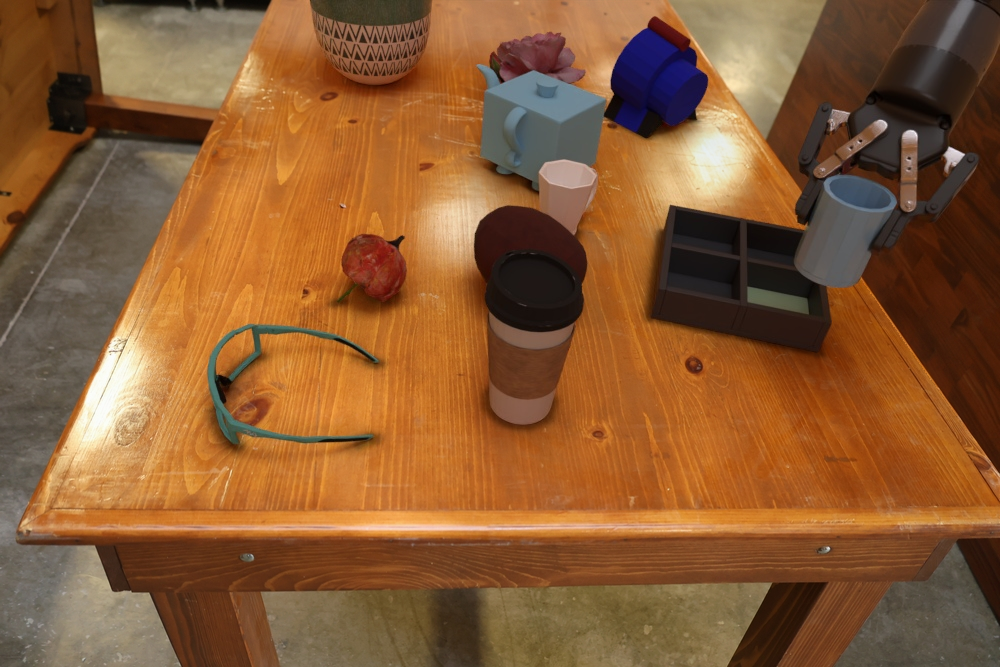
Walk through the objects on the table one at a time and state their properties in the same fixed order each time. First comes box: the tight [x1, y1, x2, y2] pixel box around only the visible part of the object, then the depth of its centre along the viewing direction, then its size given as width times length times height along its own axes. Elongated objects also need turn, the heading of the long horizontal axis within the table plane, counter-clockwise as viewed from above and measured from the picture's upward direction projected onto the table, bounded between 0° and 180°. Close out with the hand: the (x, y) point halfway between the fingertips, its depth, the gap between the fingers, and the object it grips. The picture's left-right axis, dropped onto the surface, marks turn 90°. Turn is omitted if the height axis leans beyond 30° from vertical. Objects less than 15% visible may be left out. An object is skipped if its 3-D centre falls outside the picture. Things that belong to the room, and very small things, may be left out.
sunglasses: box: [206, 323, 380, 445], centre depth 70 cm, size 14×15×5 cm
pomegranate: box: [336, 233, 408, 303], centre depth 82 cm, size 7×7×10 cm
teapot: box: [476, 63, 607, 192], centre depth 105 cm, size 18×16×13 cm
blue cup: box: [794, 174, 898, 289], centre depth 68 cm, size 6×6×8 cm
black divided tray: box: [650, 204, 833, 353], centre depth 89 cm, size 18×18×4 cm
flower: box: [488, 31, 587, 84], centre depth 125 cm, size 15×15×10 cm
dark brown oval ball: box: [473, 204, 588, 284], centre depth 82 cm, size 11×13×10 cm
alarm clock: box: [604, 15, 709, 139], centre depth 118 cm, size 12×12×15 cm
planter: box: [309, 0, 433, 86], centre depth 120 cm, size 20×20×21 cm
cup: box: [538, 159, 599, 236], centre depth 95 cm, size 7×10×8 cm
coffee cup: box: [484, 249, 585, 426], centre depth 68 cm, size 8×8×15 cm
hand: (837, 236), depth 67 cm, fingers closed on blue cup, 6 cm apart
